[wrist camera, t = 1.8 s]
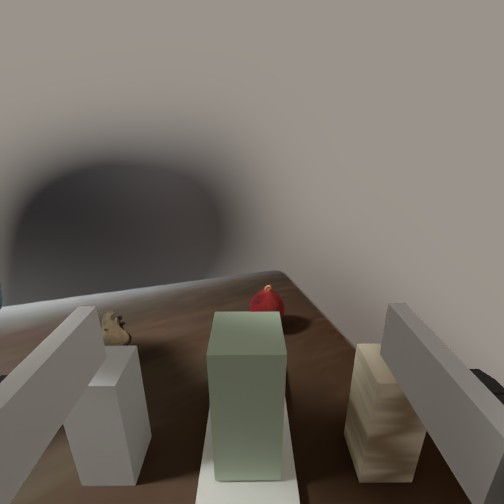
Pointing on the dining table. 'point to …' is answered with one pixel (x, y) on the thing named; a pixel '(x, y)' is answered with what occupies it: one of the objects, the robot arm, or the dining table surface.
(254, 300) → the red pomegranate
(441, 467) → the dining table surface
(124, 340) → the jawbone
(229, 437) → the pale green block
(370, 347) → the birch block
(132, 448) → the grey block
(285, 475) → the rail plate
